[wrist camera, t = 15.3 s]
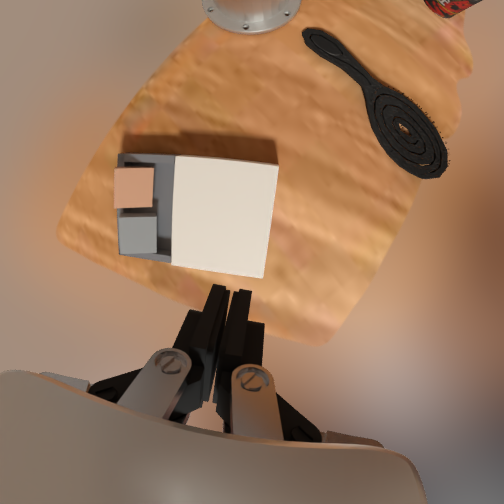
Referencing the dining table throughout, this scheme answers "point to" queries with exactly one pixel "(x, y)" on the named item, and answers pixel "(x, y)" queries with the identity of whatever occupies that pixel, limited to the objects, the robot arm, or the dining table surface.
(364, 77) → the hairbrush
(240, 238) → the board
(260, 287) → the dining table surface
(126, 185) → the terracotta tile
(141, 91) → the dining table surface
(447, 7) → the deodorant
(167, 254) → the tray
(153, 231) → the slate tile
